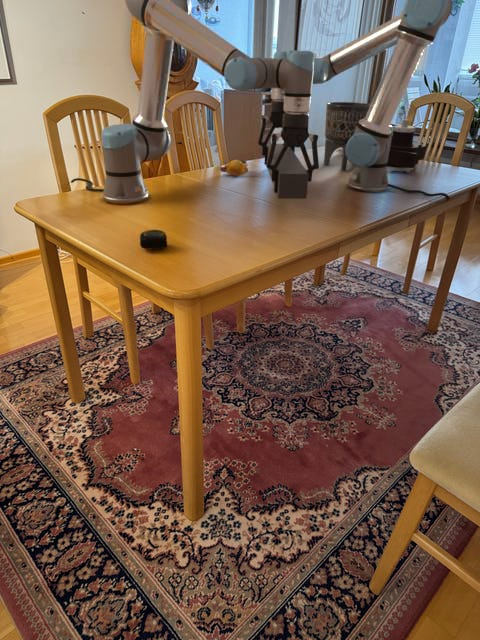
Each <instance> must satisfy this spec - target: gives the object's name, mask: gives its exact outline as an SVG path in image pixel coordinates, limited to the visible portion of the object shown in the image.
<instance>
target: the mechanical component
mask: <svg viewBox="0 0 480 640" xmlns="http://www.w3.org/2000/svg"><path fill="white" fill-rule="evenodd" d="M409 123H410V119H402V120H401V124H399V125H397V124H396V125H393V126H392V127H393V136H392V139H391V145H390V151H389V156H388V162H387V168H386V170H387V171H388V172H389V173H393V171H396V172H405V174H410V172H411V171H413V170H415V168H417V167H418V166H419V161H422V160H424V159H425V157H426V154H427V149H428V148H427V147H428V145H425V144H423V143H421V142H417V141H414V137H415V132H416V126H412V125H409Z"/></svg>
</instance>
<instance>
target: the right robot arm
mask: <svg viewBox="0 0 480 640" xmlns="http://www.w3.org/2000/svg"><path fill="white" fill-rule="evenodd" d="M452 8H453V0H405V1H404V4H403V7H402V12H401V13H400V14H398V15H397V16H395V17H393V18H392V19H390V20H388V21H386V22H384V23H383V24H381V25H379V26H377V27H376V28H374V29H372V30H370V31H368V32H366V33H364V34H362V35H361V36H359V37H357V38H355V39H354V40H352V41H350V42H348V43H347V44H345V45H343V46H340V47H339V48H337V49H335V50H333V51H332V52H330V53H328V54H327V55H324V56H323V57H321V58H314V72H313V80H312V85H318V84H319V85H322V84H324V83H327V82H329V81H330V80H332V79H333V78H334V77H337V75H339V74H342V73H344V72H345V71H347V70H349V69H351V68H353V67H355V66H358V65H359V64H361V63H363V62H365V61H367V60H369V59H371V58H373V57H374V56H377V55H379V54H381V53H382V52H384V51H386V50H388V49H390V48H392V47H394V48H393V51H392V53H391V55H390V57H389V60H388V63H387V65H386V67H385V69H384V72H383V74H382V77H381V79H380V81H379V84H378V85H377V86H378V87H377V89H376V91H375V94H374V96H373V98H372V100H371V103H370V104H371V105H370V108H369V110H368V112H367V115H366V117H365V118H364V119H362V120H360V121H359V122H358V125H357V127H356V130H355V132H354V134H353V136H352V137H351V138H350V139H349V140H348V142H347V144H346V149H345V153H346V157H347V159H348V160H347V162H349V163H350V164H351V165H352V166H353V171H351V174H350V176H349V179H348V182H347V187H348V188H349V189H351V190H354V191H358V192H363V193H364V192H365V193H382V192H386V191H388V189H389V188H392V189H395V190H398V191H401V192H405V193H408V194H409V193H410V194H421V195H423V196H425V197H426V196H427V197H439V196H441V197H444V198H445V199H451V198H450V196H449V194H447V193H445V192H436V193H429V192H426V191H424V190H420V189H406V188H403V187H400V186H397V185H394V184H390V183H389V178H388V173H387V172H388V169H386V168H387V162H388V156H389V151H390V145H391V139H392V136H393V127H394V126H392V125H391V124H392V121H393V119H394V116H395V115H396V112H397V110H398V108H399V106H400V103H401V101H402V99H403V97H404V95H405V92H406V90H407V88H408V86H409V84H410V82H411V80H412V77H413V75H414V73H415V70H416V69H417V66H418V64H419V62H420V60H421V57H422V55H423V53H424V51H425V49H426V48H427V47H428V46H430V45H432V44H433V43H434V41H435V38H436V36H437V34H438V33H439V30H440V28H441V27H443V25H445V24H446V22H447V21H448V19H449V17H450V15H451V12H452V10H453V9H452ZM287 53H288V51H281V50H280V51H278V50H277V51H275V52H274V53H273V58H276V59H284V58H286V57H287ZM270 93H271V96H270V98H271V102H270V113H269V115H268V116H261V127H260V132H259V135H258V139H257V144H258V146H261V154H262V156H263V157H264V162H263V164H264V166H266V162H267V152H268V147H267V146H266V145H267V143H269V141H270V139H271V134H272V133H274V131H275V129H280V128H281V129H282V126H283V114H284V113H285V111H284V96H285V89H279V88H271V92H270ZM269 121H270V123H271V125H270V127H269V130H268V131H267V133H266V135H265V130H266V126H267V124H268V122H269ZM264 135H265V137H264ZM263 138H264V139H263ZM290 148H291V149H292V150H293V152H294V153H296V152H295V151H296V147H290Z"/></svg>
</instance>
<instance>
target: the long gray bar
mask: <svg viewBox="0 0 480 640" xmlns="http://www.w3.org/2000/svg"><path fill="white" fill-rule="evenodd" d="M282 145H283V143H276V147H275V151H274V155H273V159H272V163H271V164H272V165H273V163H274V161H275V159H276V157H277V155H278V153H279V151H280V150H281V148H282ZM266 146H267V147H268V152H267V158H268V154H269V150H270V146H271V143H269V142H268V143H267V145H266ZM277 169H278V187H277V193H276V196H277V199H278V200H279V199H280V200H281V199H284V200H307V197H308V188H307V187H309V182H308V177H309V174H308V172H307V171H306V170H307V169H306V168H305V166H304V165H303V163H302V162H301V161H300V159H299V158H298V156H297V155H296V152H293V150H292V149H291V148H290V147H288V149H287V150H286V152H285V154H284V156H283V157H282V159H281V161H280V163H279V165H278V167H277ZM267 171H268V174H269V177H270V178H271V172H272V170H271V169H268V168H267ZM271 183H272V185H273V186H274V181H272V180H271Z"/></svg>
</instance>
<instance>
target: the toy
mask: <svg viewBox="0 0 480 640" xmlns="http://www.w3.org/2000/svg"><path fill="white" fill-rule="evenodd" d="M248 165H249V164H248V162H247V160H245V159H242V160H239V159H233V160H231V161H229V162H227V163H226V164H224V166H221V167H220V168H219V170H220V172H222V173H227V174H229V175H232V176H235V177H240V176H242V175H245V174H247V173H248V172H249V168H248Z"/></svg>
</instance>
